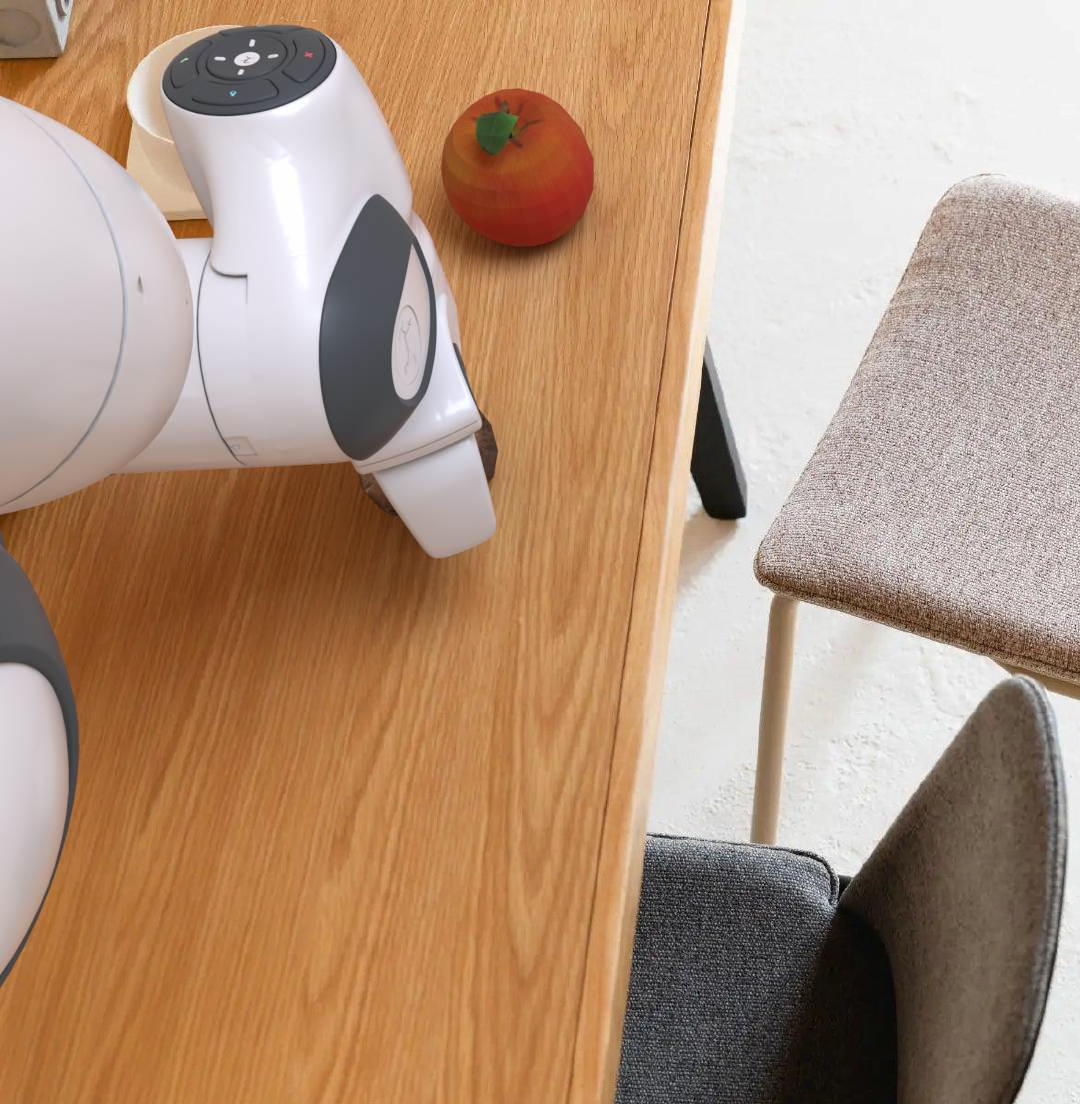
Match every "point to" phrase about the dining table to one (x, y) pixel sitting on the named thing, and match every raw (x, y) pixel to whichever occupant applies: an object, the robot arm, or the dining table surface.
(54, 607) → the dining table surface
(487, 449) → the mushroom
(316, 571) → the dining table surface
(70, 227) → the robot arm
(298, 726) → the dining table surface
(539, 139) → the fruit
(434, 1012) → the dining table surface
